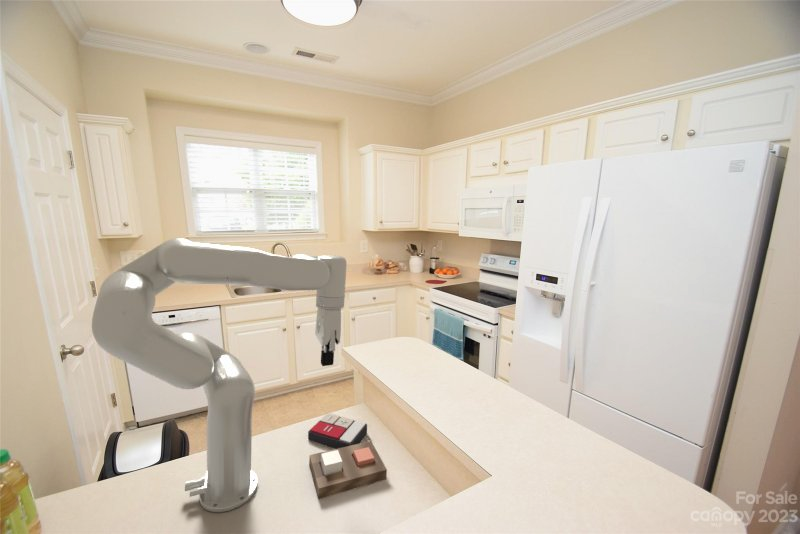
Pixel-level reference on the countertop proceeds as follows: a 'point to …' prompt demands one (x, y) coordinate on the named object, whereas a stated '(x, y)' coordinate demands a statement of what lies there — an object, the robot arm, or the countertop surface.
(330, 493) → the key panel
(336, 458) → the white key
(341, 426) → the calculator
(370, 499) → the countertop surface
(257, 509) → the countertop surface
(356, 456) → the salmon pink key
